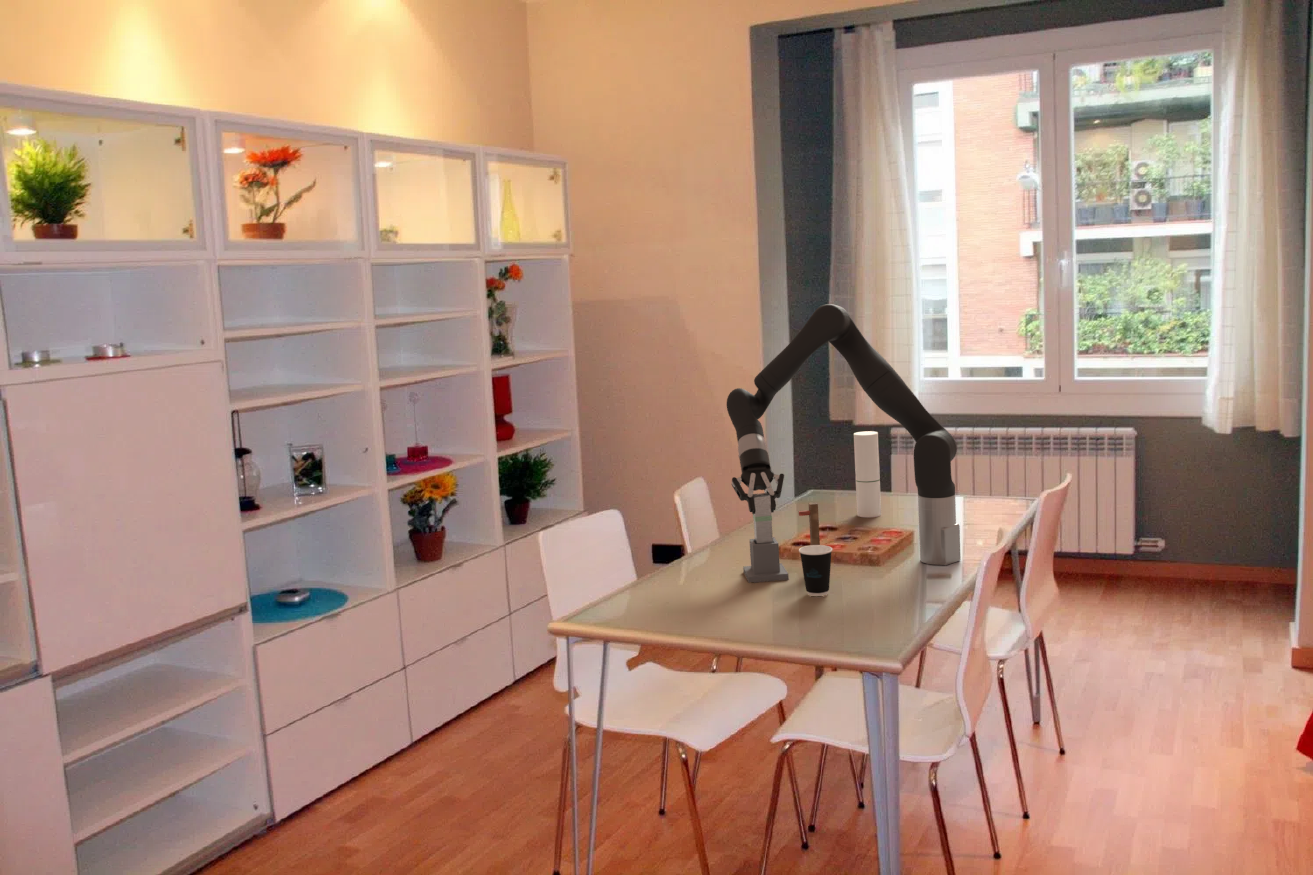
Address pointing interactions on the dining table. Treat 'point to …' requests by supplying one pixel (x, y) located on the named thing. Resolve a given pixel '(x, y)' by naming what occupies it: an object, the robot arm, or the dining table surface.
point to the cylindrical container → (867, 474)
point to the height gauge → (813, 522)
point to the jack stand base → (765, 563)
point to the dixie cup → (816, 568)
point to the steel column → (762, 519)
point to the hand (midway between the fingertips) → (763, 511)
